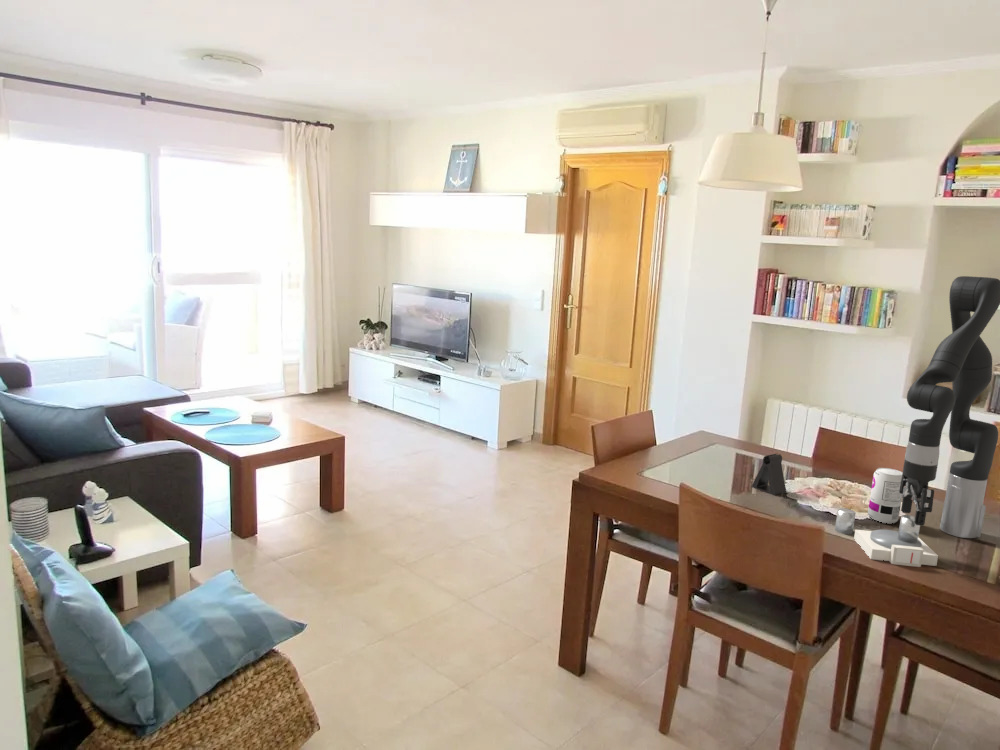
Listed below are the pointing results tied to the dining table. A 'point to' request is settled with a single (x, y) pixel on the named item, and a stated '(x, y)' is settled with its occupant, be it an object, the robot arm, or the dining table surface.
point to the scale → (894, 548)
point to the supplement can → (885, 495)
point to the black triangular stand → (770, 476)
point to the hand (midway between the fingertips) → (912, 518)
